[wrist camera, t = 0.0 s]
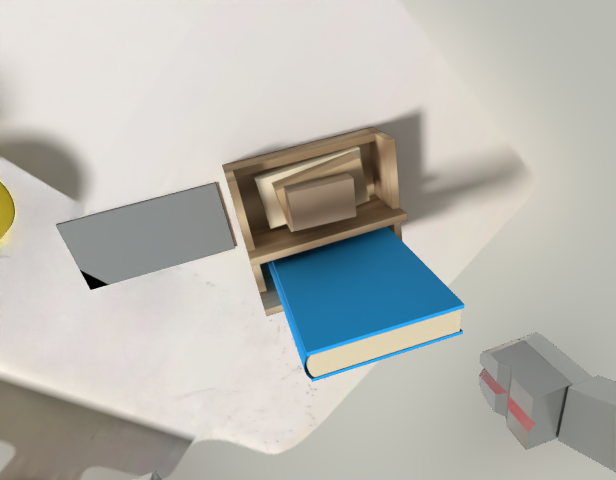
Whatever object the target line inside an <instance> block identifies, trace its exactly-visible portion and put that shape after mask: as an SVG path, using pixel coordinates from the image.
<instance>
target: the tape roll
mask: <svg viewBox="0 0 616 480" xmlns="http://www.w3.org/2000/svg"><path fill="white" fill-rule="evenodd" d="M14 216H15V207H14V202H13V199H12V197H11V195H10V193H9V192H8V190H7V189H6V187H5V186H4V185H3V184H2V183H1V182H0V239H1V238H2V236H3V235H4V234H5V233H6V232H7V231H8V229H9V228H10V227H11V225H12V223H13V220H14Z"/></svg>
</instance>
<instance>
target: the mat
mask: <svg viewBox="0 0 616 480" xmlns="http://www.w3.org/2000/svg"><path fill="white" fill-rule="evenodd" d="M56 227H57V229H58V231H59V232H60V234H61V236H62V238H63V240H64V242H65V243H66V245H67V247H68V249H69V251H70V253H71V255H72V256H73V258H74V260H75V262H76V264H77V266H78V267H79V269H80V271H81V273H82V275H83V277H84V278H85V280H86V282H87V284H88V286H89V288H90V290H92V289H96V288H99V287H103V286H106V285H110V284H113V283H116V282H120V281H123V280H127V279H130V278H134V277H137V276H141V275H144V274H148V273H151V272H155V271H158V270H162V269H165V268H168V267H172V266H175V265H179V264H182V263H186V262H189V261H193V260H196V259H200V258H203V257H207V256H210V255H214V254H217V253H220V252H224V251H227V250H231V249H234V248H235V246H234V242H233V239H232V236H231V233H230V229H229V226H228V223H227V219H226V216H225V213H224V210H223V206H222V203H221V200H220V197H219V193H218V190H217V187H216V183H212V184H208V185H204V186H200V187H196V188H192V189H189V190H185V191H181V192H177V193H173V194H170V195H166V196H162V197H158V198H154V199H150V200H147V201H143V202H139V203H135V204H131V205H127V206H124V207H120V208H116V209H112V210H108V211H104V212H101V213H97V214H93V215H89V216H85V217H82V218H78V219H74V220H70V221H66V222H62V223H59V224H56Z"/></svg>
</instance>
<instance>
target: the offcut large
mask: <svg viewBox="0 0 616 480" xmlns="http://www.w3.org/2000/svg"><path fill="white" fill-rule="evenodd" d="M349 152H352V153H354V154H355V155H356V156H358V157H359V158H360V161H361V155H360V149H359V147H357V146H354V147H350V148H346V149H342V150H339V151H335V152H331V153H327V154H323V155H319V156H316V157H312V158H308V159H304V160H300V161H296V162H293V163H289V164H285V165H281V166H277V167H273V168H270V169H266V170H262V171H259V172H256V173H253V174H252V175H253V178H254V182H255V185H256V188H257V191H258V194H259V197H260V201H261V204H262V207H263V210H264V213H265V217H266V220H267V222H268V224H269V226H270V229H272V228H275V227H278V226H281V225H284V224H287V223H286V221H285V218H284V215H283V213H282V210H281V207H280V205H279V202H278V199H277V196H276V194H275V191H274V188H273V186H272V182H275V181H277V180H280V179H283V178H285V177H288V176H290V175H293V174H295V173H298V172H300V171H303V170H305V169H308V168H311V167H313V166H316V165H318V164H321V163H323V162H326V161H328V160H331V159H333V158H336V157H338V156H341V155H344V154H346V153H349ZM361 165H362V161H361ZM362 170H363V167H362ZM363 174H364V173H363Z"/></svg>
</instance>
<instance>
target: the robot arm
mask: <svg viewBox="0 0 616 480" xmlns="http://www.w3.org/2000/svg"><path fill="white" fill-rule="evenodd" d="M480 364H481V365H482V366H483V367H484V369H483V370H482V372H481V373H480V375H479V385H480V388H481V391H482V394H483V396H484V398H485V400H486V401H487V403H488V404H489V406H490V407H491V408H492V409H493V410H494V412H496V413H499V414H501V415H503V416H505V417H506V423H507V428H508V429H509V430H510V431H511V432H512V434H513V435H514V436H515V437H516V438H517V440H518V441H519V442H520V443H521V444H522V445H523V447H524V448H525V449H526V450H527V449H530V448H532V447H535V446H538V445H540V444H543V443H546V442H548V441H551V440H554V439H556V438H558V441H560V442H562V443H564V444H566V445H567V446H569V447H571V448H573V449H575V450H577V451H578V452H580V453H582V454H584V455H586V456H588V457H589V458H591V459H593V460H595V461H596V462H598V463H600V464H602V465H604V466H605V467H607V468H609V469H611V470H613V471H614V472H616V381H613V380H610V379H607V378H604V377H602V376H595V377H592V376H591V375H590V374H588V373H587V372H586V371H585V370H584V369H582V368H581V367H580V366H579V365H578V364H576V363H575V362H574V361H573V360H572V359H570V358H569V357H568V356H567V355H566V354H564V353H563V352H562V351H561V350H560V349H558V348H557V347H556V346H555V345H554V344H552V343H551V342H550V341H549V340H547V339H546V338H545V337H544V336H543V335H541V334H539V333H533V334H530V335H527V336H524V337H522V338H519V339H515V340H512V341H510V342H507V343H504V344H502V345H499V346H496V347H494V348H491V349H488V350H486V351H483V352H482V354H481V355H480ZM132 480H162V479H161V477H160V476H159V474H158V473H157V471H155V472H152V473H149V474H146V475H143V476H140V477H137V478H135V479H132Z"/></svg>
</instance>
